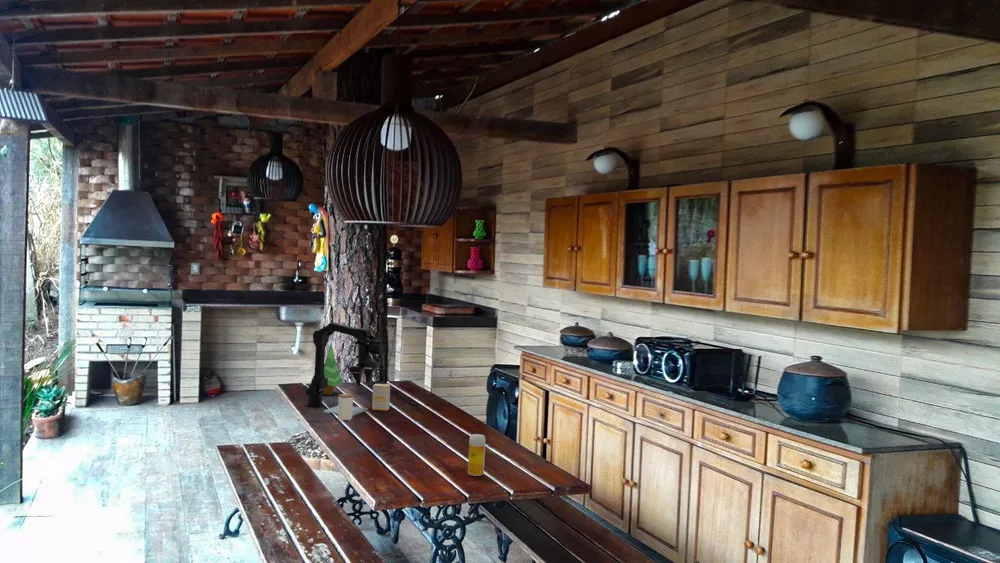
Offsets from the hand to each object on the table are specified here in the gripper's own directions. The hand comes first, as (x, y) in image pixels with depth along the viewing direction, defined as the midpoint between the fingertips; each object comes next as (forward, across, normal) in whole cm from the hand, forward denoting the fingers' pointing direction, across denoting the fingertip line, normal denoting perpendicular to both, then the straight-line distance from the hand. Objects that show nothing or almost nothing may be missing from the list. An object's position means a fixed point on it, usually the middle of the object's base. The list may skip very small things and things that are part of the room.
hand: (363, 384), depth 366 cm
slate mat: (+14, -2, +8) cm, 17 cm away
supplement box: (+15, +11, -4) cm, 19 cm away
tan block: (+14, -17, 0) cm, 22 cm away
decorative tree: (+13, +29, +38) cm, 50 cm away
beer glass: (+18, -68, -87) cm, 112 cm away
